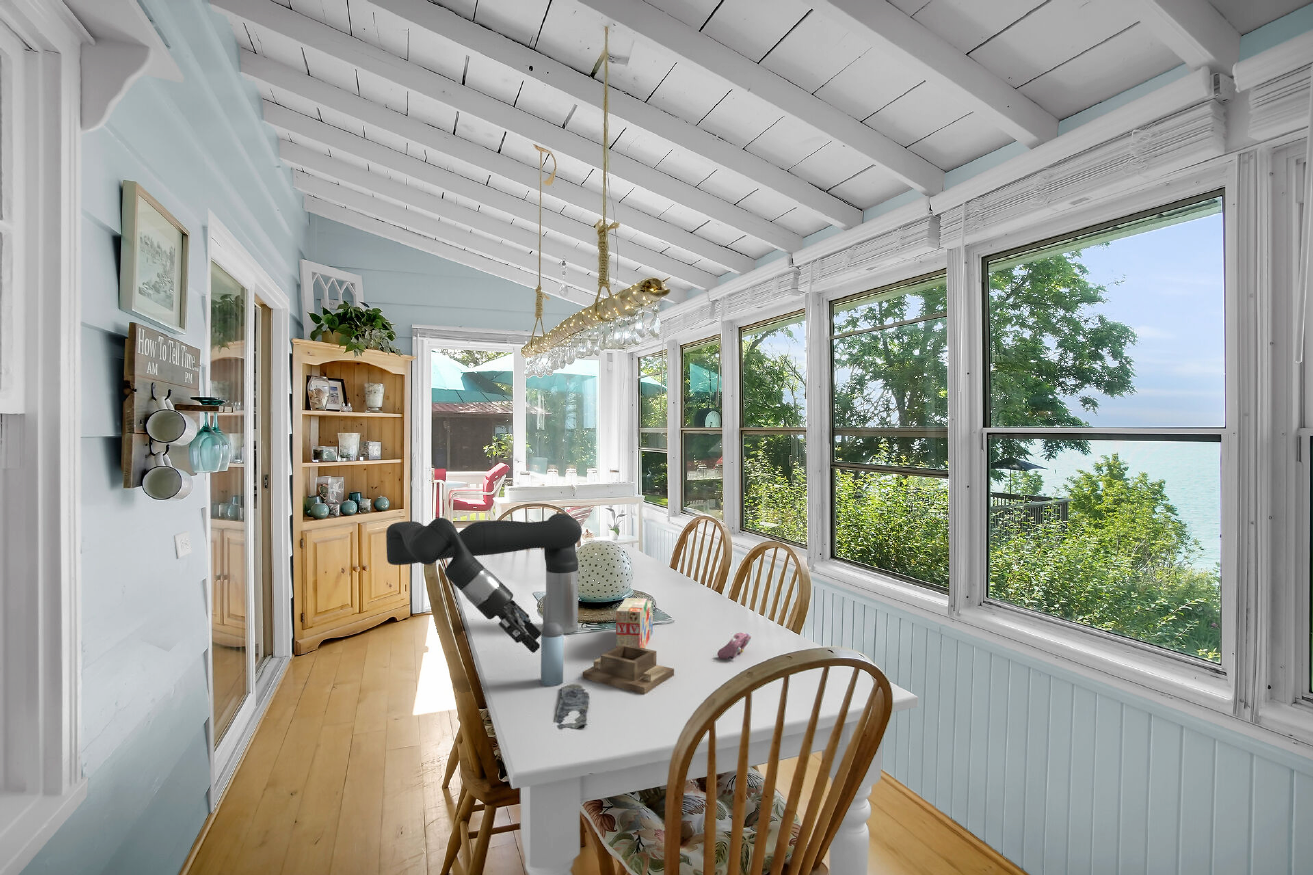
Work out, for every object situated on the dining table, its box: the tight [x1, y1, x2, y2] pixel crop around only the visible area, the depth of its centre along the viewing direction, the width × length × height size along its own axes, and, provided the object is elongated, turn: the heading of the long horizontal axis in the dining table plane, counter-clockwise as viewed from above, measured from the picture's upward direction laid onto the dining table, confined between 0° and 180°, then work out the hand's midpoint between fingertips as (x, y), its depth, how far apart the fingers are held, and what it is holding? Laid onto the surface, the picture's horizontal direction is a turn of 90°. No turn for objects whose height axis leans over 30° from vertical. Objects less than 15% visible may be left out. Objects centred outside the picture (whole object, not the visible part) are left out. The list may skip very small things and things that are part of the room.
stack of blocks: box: [615, 597, 654, 649], centre depth 172 cm, size 21×6×12 cm, turn 172°
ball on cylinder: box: [540, 623, 564, 687], centre depth 146 cm, size 5×5×14 cm
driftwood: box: [553, 683, 590, 730], centre depth 133 cm, size 21×7×2 cm, turn 3°
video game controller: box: [716, 631, 752, 660], centre depth 164 cm, size 10×5×7 cm, turn 149°
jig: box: [582, 644, 675, 695], centre depth 149 cm, size 17×13×6 cm
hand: (537, 642), depth 144 cm, fingers open, 8 cm apart
